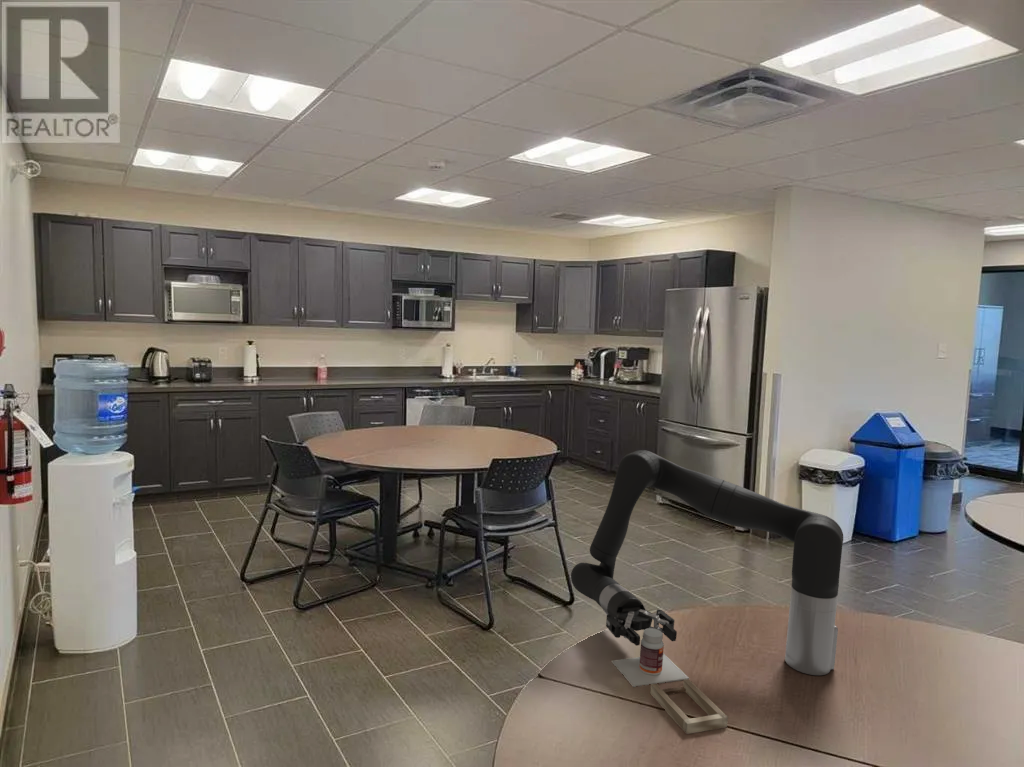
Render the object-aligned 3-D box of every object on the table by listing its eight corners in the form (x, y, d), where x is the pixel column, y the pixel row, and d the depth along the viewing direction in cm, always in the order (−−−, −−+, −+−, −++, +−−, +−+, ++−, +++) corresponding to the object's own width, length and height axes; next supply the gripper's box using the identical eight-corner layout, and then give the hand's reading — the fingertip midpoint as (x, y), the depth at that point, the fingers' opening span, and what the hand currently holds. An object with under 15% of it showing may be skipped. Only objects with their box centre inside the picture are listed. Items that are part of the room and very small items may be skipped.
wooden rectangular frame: (687, 688, 133) (688, 679, 133) (726, 727, 120) (727, 716, 120) (650, 693, 130) (651, 684, 130) (686, 734, 118) (687, 723, 118)
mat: (664, 655, 146) (664, 653, 146) (689, 679, 136) (689, 677, 136) (611, 661, 142) (611, 660, 142) (633, 687, 132) (633, 685, 132)
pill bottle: (662, 677, 136) (665, 639, 135) (639, 674, 137) (641, 635, 136) (661, 665, 140) (664, 628, 140) (639, 662, 141) (641, 625, 141)
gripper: (594, 592, 149) (627, 625, 134) (649, 587, 153) (687, 618, 138) (592, 624, 150) (625, 660, 134) (647, 618, 154) (685, 652, 139)
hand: (656, 639), depth 136 cm, fingers open, 8 cm apart
